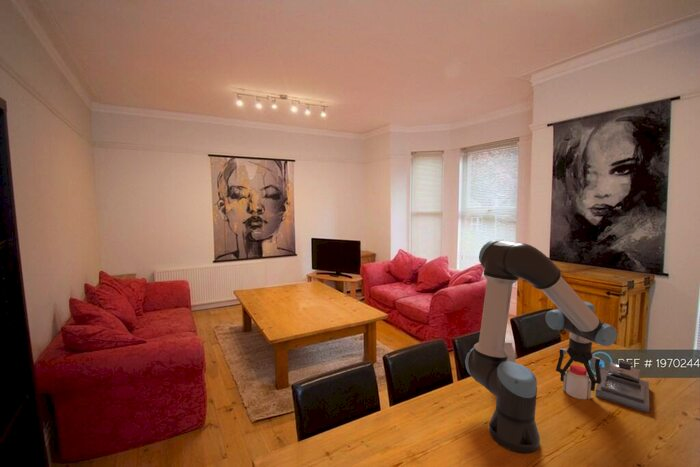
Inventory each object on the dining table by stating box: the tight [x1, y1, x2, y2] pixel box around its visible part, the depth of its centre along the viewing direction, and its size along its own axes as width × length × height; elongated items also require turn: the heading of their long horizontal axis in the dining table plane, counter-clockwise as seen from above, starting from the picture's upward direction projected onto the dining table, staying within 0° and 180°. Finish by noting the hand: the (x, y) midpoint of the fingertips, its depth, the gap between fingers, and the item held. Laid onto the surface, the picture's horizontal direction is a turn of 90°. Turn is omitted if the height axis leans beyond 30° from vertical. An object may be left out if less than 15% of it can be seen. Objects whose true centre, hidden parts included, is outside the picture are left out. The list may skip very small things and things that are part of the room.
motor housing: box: [595, 359, 650, 414], centre depth 135 cm, size 22×16×10 cm
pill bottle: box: [564, 364, 590, 400], centre depth 134 cm, size 8×8×11 cm
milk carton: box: [504, 341, 517, 363], centre depth 140 cm, size 7×7×19 cm
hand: (576, 393), depth 134 cm, fingers closed on pill bottle, 8 cm apart
